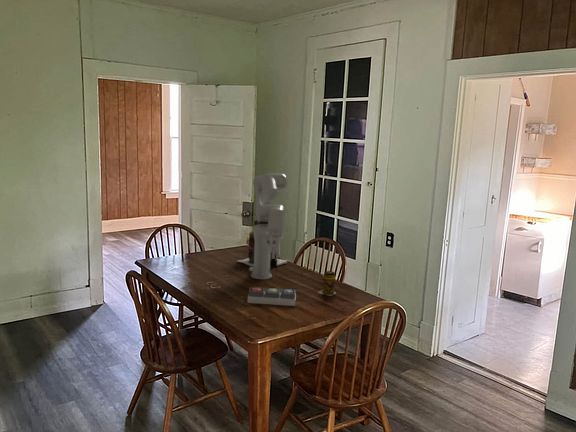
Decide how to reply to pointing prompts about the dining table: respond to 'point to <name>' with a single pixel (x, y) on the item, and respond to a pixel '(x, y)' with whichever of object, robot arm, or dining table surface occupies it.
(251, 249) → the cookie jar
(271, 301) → the button housing
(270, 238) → the robot arm
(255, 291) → the red button
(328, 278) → the condiment
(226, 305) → the dining table surface
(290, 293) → the blue button
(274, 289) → the sage button
